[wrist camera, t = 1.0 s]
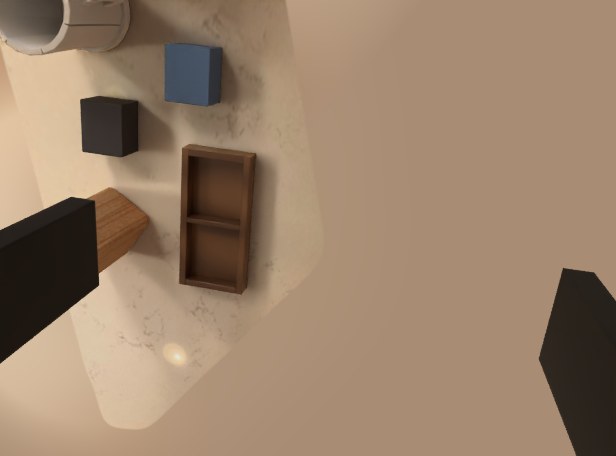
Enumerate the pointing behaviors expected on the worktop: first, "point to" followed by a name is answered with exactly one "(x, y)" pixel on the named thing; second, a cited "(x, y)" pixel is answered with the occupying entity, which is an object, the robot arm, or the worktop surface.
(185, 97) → the slate blue block
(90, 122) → the dark grey block
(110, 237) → the decorative item
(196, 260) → the holder
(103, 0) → the cup
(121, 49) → the worktop surface
